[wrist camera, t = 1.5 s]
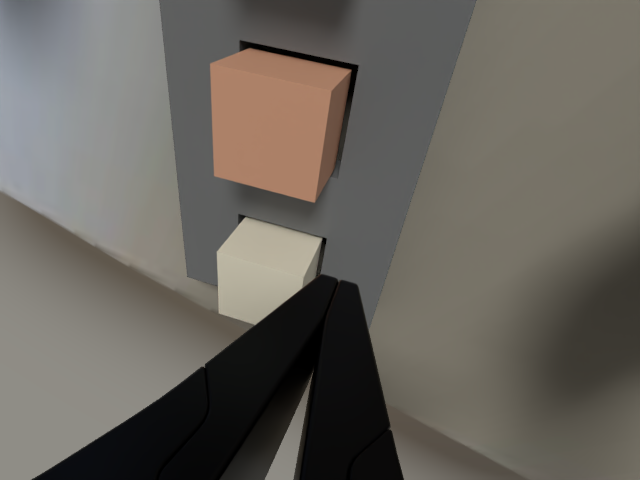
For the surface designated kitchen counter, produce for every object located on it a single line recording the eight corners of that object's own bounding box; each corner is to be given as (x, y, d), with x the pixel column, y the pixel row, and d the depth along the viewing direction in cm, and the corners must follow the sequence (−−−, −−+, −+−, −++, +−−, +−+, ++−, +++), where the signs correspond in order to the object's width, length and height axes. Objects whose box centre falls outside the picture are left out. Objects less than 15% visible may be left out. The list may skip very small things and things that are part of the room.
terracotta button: (352, 69, 15) (331, 90, 13) (334, 168, 18) (314, 202, 15) (250, 47, 16) (209, 63, 13) (247, 146, 19) (214, 176, 16)
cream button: (322, 237, 21) (303, 277, 18) (312, 294, 23) (294, 337, 20) (246, 216, 21) (216, 251, 18) (244, 274, 24) (218, 313, 21)
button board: (568, -300, 10) (590, -350, 9) (373, 309, 25) (368, 332, 23) (164, -330, 12) (121, -376, 10) (203, 258, 26) (187, 276, 25)
